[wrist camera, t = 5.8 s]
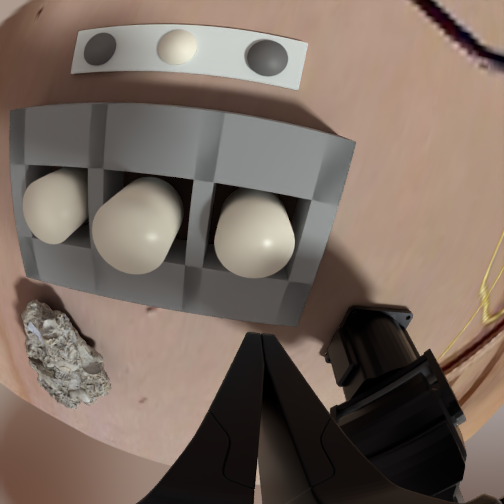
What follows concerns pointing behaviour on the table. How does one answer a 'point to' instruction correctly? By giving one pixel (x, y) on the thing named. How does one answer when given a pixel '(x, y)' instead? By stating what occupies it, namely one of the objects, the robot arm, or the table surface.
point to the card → (191, 52)
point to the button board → (203, 194)
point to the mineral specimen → (63, 357)
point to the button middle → (138, 225)
